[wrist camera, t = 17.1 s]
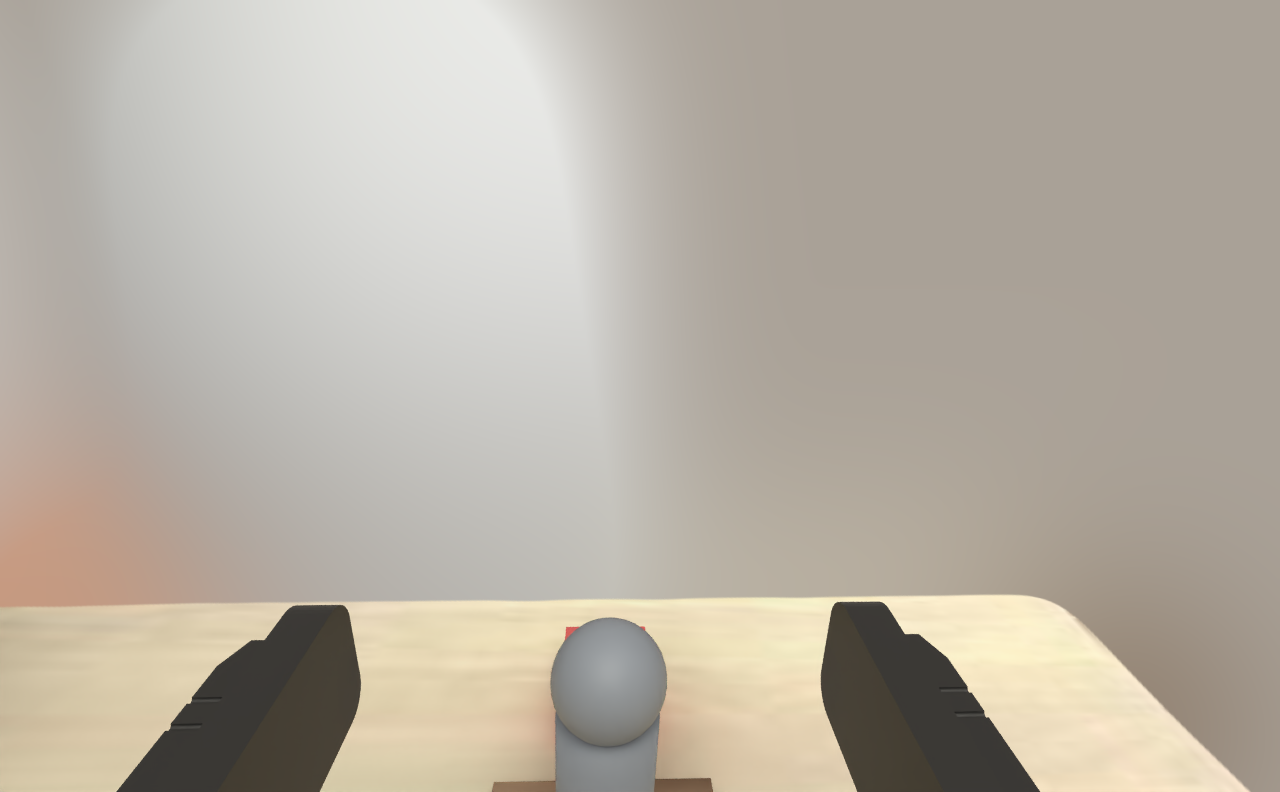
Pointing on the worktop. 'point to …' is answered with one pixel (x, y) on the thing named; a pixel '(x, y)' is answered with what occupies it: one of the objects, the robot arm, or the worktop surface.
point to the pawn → (607, 708)
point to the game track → (663, 788)
